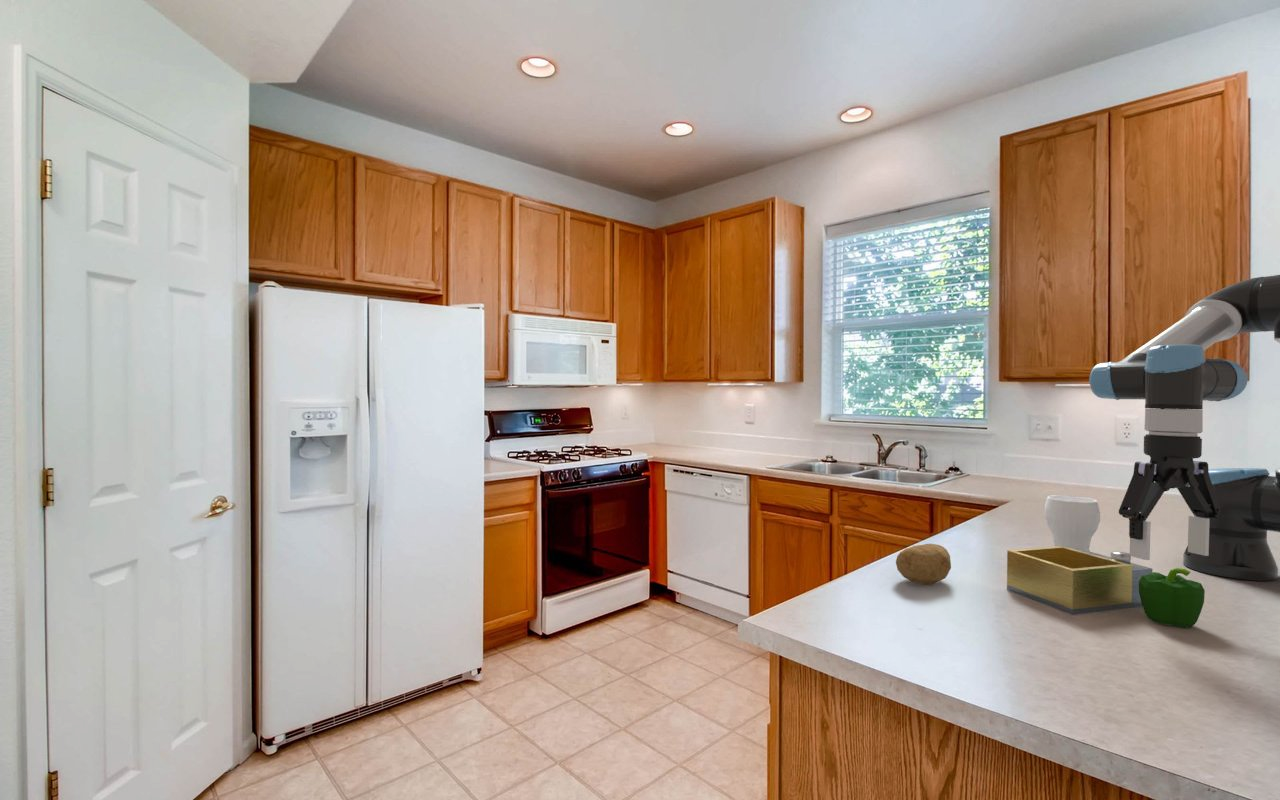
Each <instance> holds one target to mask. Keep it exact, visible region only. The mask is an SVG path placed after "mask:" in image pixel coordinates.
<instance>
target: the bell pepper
mask: <svg viewBox="0 0 1280 800" xmlns="http://www.w3.org/2000/svg"><path fill="white" fill-rule="evenodd" d="M1179 574H1180V575H1179ZM1181 574H1182V575H1184V576H1185V577H1187V576H1189V575H1190V574H1191V571H1189V570H1188V569H1185V568H1181V567H1180V568H1179V567H1176V568H1173V569H1170V570H1169V572H1168V573H1167V575H1164V574H1163V573H1161V572H1156V571H1152V573H1150V574H1147V575H1142V577H1141V579H1140V580H1139V594H1140V598H1141V603H1142V606H1143V607H1142V608H1143V612H1144V614H1145V616H1146V617H1147V619H1149V620H1150V621H1152V622H1154V623H1157V624H1160V625H1164V626H1165V625H1166V626H1167V625H1168V626H1175V627H1180V628H1192V627H1194V625H1196V624H1197V622H1198V620H1199V618H1200V615H1201V613H1202V609H1203V606H1204V603H1205V594H1206V593H1205V588H1204V586H1203V585H1202V583H1201V582H1199V581H1196V580H1192V579H1191V580H1190V579H1187V578H1185V577H1183V576H1181Z"/></svg>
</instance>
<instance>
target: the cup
mask: <svg viewBox="0 0 1280 800" xmlns="http://www.w3.org/2000/svg"><path fill="white" fill-rule="evenodd" d="M1044 504H1045V505H1044V518H1045V521H1046V524H1047V526H1048V528H1049V530H1050V531H1051V534H1052V538H1053V547H1056V546H1064V547H1068V548H1071V549H1075V550H1077V549H1082V550H1086V551H1089V552H1091V551H1090V547H1091V541H1092V538H1093V536H1094V534H1095V533H1096V532H1097V530H1098V528H1099V525H1100V523H1101V510H1100V506H1099V502H1098V500H1096V499H1094V498H1090V497H1083V496H1076V495H1075V496H1074V495H1063V494H1061V495H1059V494H1057V495H1053V494H1052V495H1048V496H1047V498H1046V500H1045V503H1044Z"/></svg>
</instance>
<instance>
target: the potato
mask: <svg viewBox="0 0 1280 800" xmlns="http://www.w3.org/2000/svg"><path fill="white" fill-rule="evenodd" d="M895 565H896V568H897V571H898V573H900V575H901V576H902V577H903V578H905V579H906V580H909V581H910V582H911V583H916V584H920V585H926V586H928V585H930V586H931V585H935V584H937V583H938V582H940V581H943V580H944V579H946V578H947V576H948V574H949V573H950V571H951V569H952V563H951V555H950V553H949V551H948V549H947V548H946V547H944V546H943V545H940V544H935V543H925V544H924V543H923V544H918V545H917V544H916V545H913V546H910V547H908V548H905V549H902V551H900V552H899V553H898V555H897V556H896V560H895Z"/></svg>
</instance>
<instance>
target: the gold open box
mask: <svg viewBox="0 0 1280 800" xmlns="http://www.w3.org/2000/svg"><path fill="white" fill-rule="evenodd" d="M1006 551H1007V552H1006V553H1007V555H1006V557H1007V558H1006V559H1007V560H1006V590H1007V591H1009V592H1013V593H1014V594H1018V595H1020V596H1021V597H1024V598H1025V597H1026V598H1028V599H1029V600H1033V601H1035V602H1038V603H1040V604H1043V605H1047V606H1049V607H1051V608H1054V609H1057V610H1060V611H1062V612H1064V613H1066V614H1069V615H1082V614H1091V613H1099V612H1109V611H1115V610H1124V609H1126V610H1127V609H1132V608H1134V609H1135V608H1141V607H1142V608H1143V606H1142V603H1141V598H1140V594H1139V580H1140V579H1141V577H1142V575H1147V574H1150V573H1153V568H1152V567H1148V566H1145V565H1141V564H1137V563H1133V562H1131V559H1132V558H1131V557H1132V556H1130V552H1124V551H1120V550H1111V551H1110V556H1108V555H1103V554H1101V553H1097V552H1093V551H1092V552H1091V551H1090V550H1089V551H1090V552H1089V551H1086V550H1082V549H1077V550H1075V549H1071V548H1068V547H1064V546H1056V547H1054V546H1046V547H1034V548H1023V549H1022V548H1021V549H1010V550H1009V549H1008V550H1006Z"/></svg>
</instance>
